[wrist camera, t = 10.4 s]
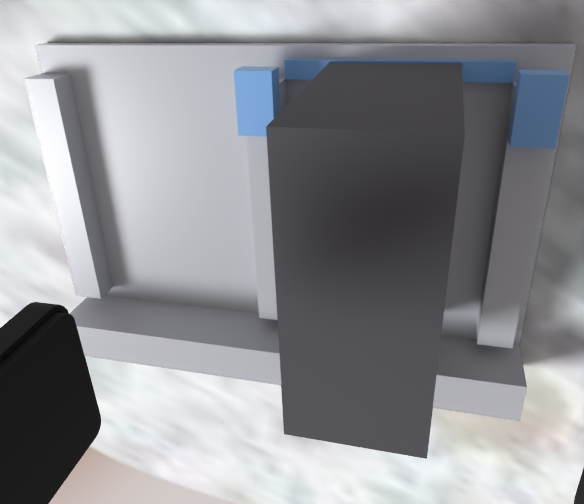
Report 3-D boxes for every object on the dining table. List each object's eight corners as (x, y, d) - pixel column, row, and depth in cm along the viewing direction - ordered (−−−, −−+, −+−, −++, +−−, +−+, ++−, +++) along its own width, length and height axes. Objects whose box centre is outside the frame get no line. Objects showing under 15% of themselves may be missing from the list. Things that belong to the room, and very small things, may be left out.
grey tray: (45, 42, 21) (-12, 54, 18) (572, 43, 17) (595, 58, 14) (104, 314, 26) (66, 353, 24) (512, 367, 22) (519, 420, 19)
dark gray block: (329, 61, 18) (265, 126, 12) (461, 63, 17) (464, 134, 11) (330, 299, 22) (284, 433, 16) (435, 311, 21) (426, 458, 15)
